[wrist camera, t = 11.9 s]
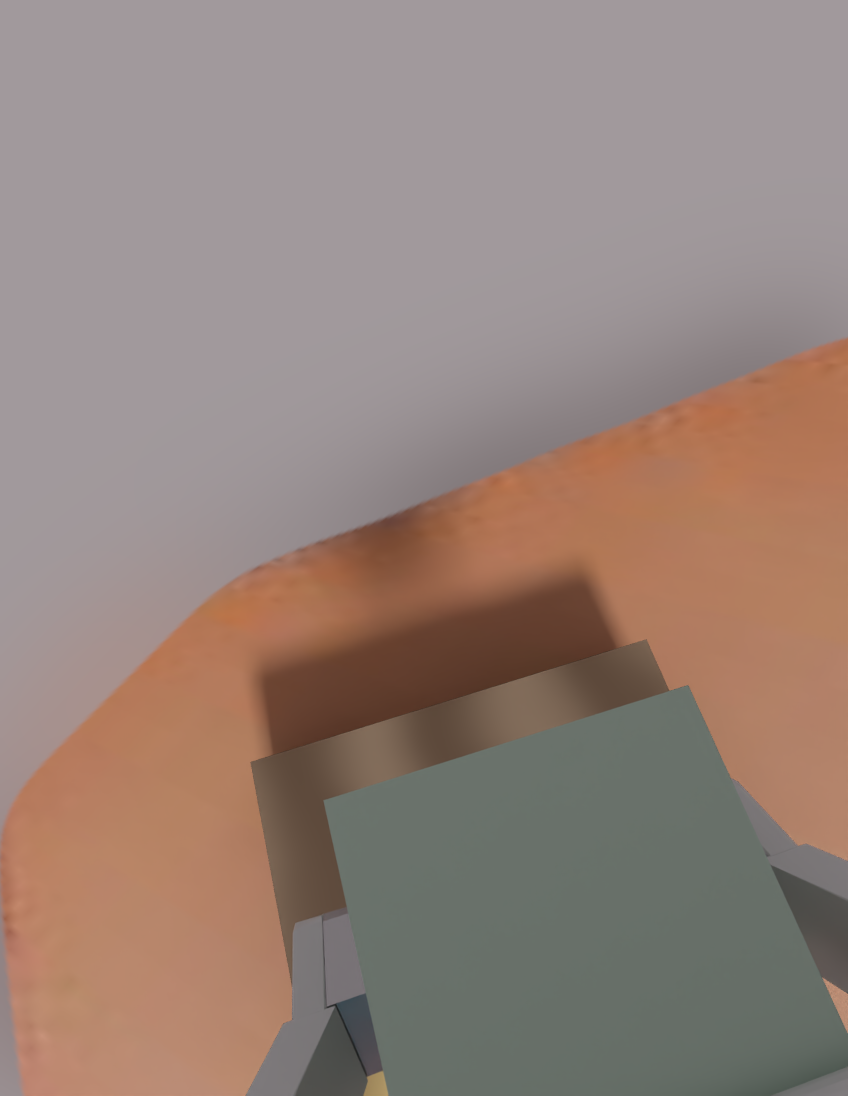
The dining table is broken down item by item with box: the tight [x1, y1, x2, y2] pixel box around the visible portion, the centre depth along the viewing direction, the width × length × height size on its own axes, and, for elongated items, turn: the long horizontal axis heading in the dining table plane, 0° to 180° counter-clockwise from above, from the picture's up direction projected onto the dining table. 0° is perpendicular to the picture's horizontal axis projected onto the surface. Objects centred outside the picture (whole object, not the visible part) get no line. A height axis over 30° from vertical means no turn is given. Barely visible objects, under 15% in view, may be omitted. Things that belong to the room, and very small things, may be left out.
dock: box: [251, 640, 669, 1096], centre depth 26 cm, size 17×12×4 cm
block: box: [323, 685, 848, 1096], centre depth 12 cm, size 5×5×10 cm
